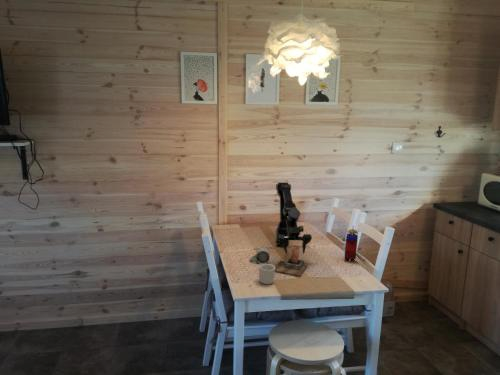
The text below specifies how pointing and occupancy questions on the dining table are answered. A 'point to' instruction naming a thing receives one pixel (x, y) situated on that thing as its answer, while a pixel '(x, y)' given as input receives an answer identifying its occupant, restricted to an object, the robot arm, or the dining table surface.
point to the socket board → (291, 268)
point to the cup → (266, 273)
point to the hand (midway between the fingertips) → (295, 253)
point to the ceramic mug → (261, 256)
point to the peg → (294, 254)
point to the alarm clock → (351, 244)
